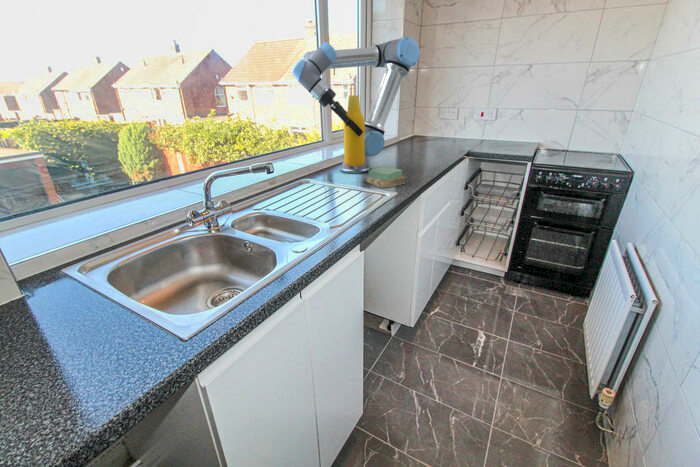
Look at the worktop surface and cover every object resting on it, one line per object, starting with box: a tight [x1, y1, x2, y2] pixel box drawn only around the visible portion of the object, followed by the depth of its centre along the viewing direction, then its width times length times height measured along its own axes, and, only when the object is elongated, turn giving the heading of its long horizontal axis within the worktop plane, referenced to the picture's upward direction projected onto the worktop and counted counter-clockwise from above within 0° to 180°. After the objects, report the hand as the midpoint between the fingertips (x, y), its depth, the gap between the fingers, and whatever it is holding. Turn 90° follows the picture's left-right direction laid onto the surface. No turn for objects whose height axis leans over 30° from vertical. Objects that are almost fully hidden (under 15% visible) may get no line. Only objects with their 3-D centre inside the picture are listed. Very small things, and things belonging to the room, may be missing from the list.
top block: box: [368, 166, 403, 181], centre depth 151 cm, size 11×11×3 cm
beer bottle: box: [343, 94, 365, 166], centre depth 144 cm, size 9×9×29 cm
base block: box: [365, 174, 406, 189], centre depth 153 cm, size 13×13×3 cm
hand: (361, 132), depth 144 cm, fingers closed on beer bottle, 9 cm apart
